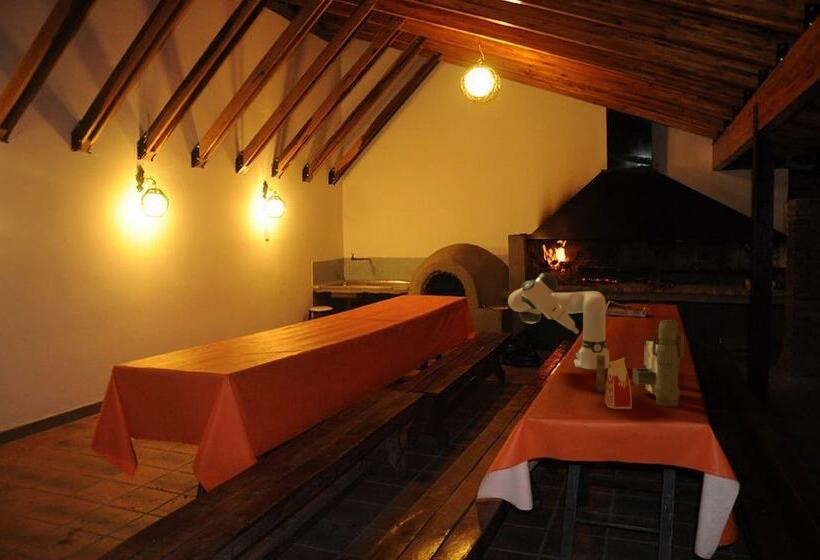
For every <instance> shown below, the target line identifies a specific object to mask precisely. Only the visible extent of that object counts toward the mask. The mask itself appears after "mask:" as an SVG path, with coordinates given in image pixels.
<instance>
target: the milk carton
mask: <svg viewBox="0 0 820 560" xmlns="http://www.w3.org/2000/svg"><path fill="white" fill-rule="evenodd" d="M607 363H608V364H609V367H608V368H607V373H606V374H607V375H606V381H605V404H606V406H607V407H608V408H611V409H614V410H620V409H623V410H625V409H627V410H629V409H631V410H632V401H633V399H632V387H631V382H630V376H629V374H628V370H627V366H626V363H625V357H622V358H619V359H617V360H615V361H614V360H612V361H609V362H607Z"/></svg>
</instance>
